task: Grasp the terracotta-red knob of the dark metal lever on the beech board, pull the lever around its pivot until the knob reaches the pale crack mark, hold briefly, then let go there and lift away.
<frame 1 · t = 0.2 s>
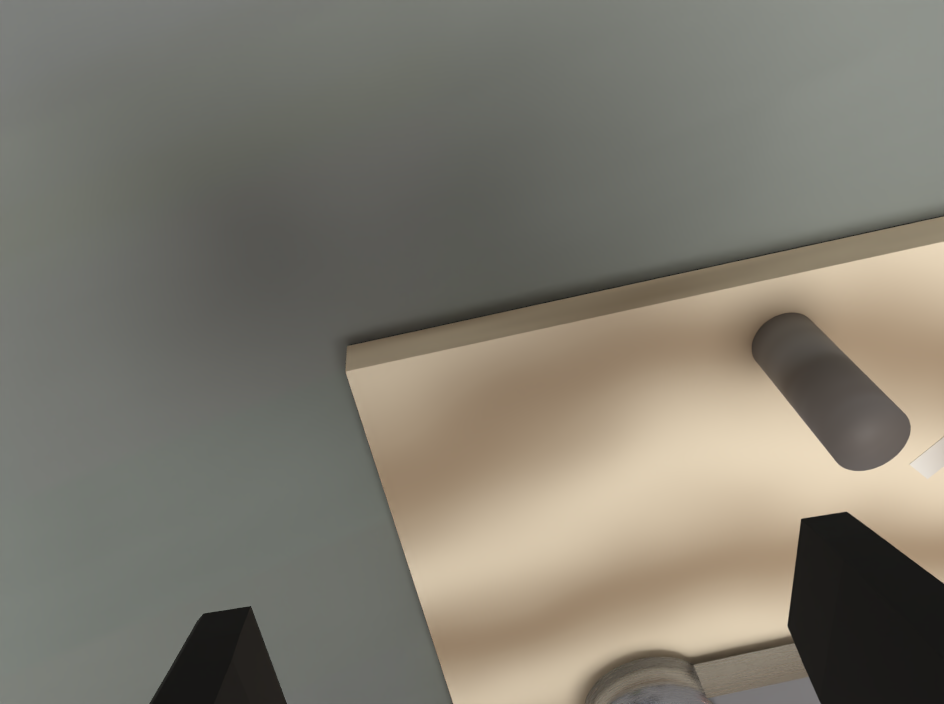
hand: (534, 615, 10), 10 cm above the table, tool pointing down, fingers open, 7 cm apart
board: (780, 543, 25), on the table
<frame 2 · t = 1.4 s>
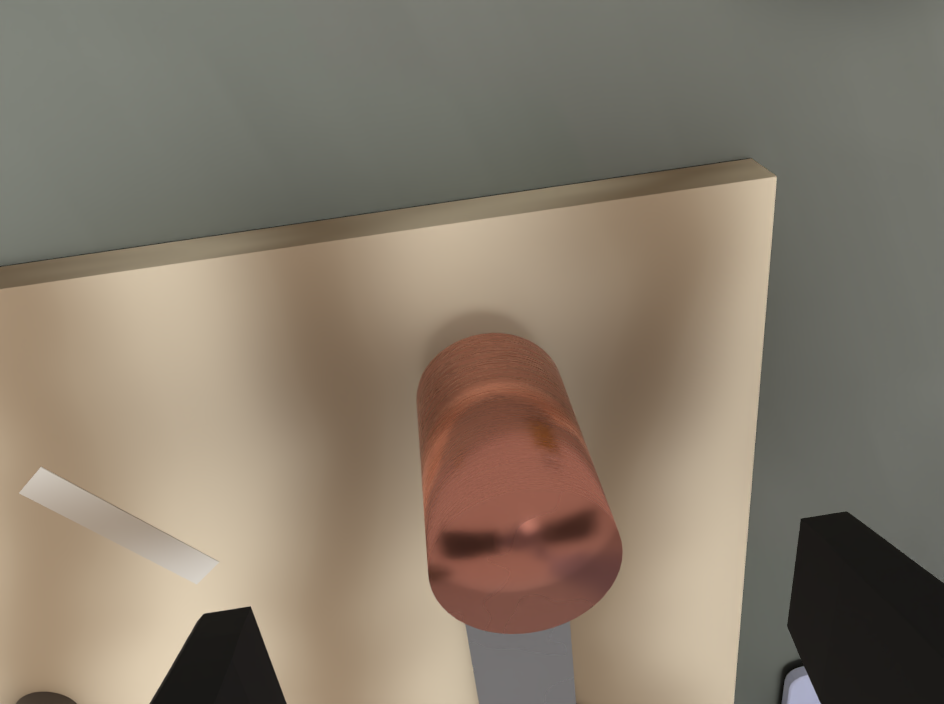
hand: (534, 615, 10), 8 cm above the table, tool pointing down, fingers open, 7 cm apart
lever: (530, 698, 17), point 4 cm above the table, hinge at 0.0°
board: (361, 610, 21), on the table
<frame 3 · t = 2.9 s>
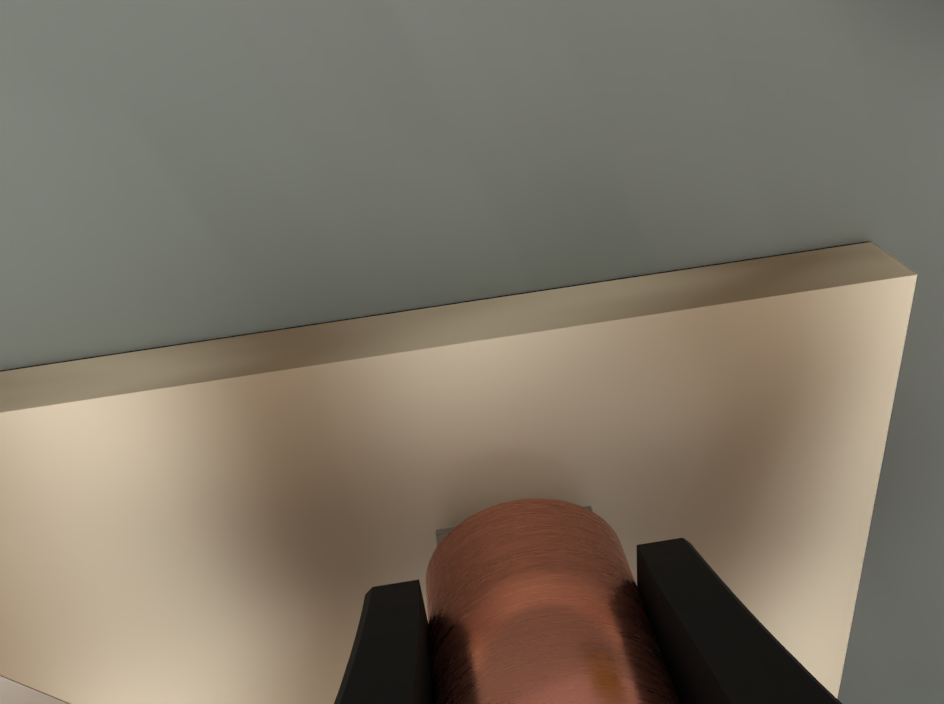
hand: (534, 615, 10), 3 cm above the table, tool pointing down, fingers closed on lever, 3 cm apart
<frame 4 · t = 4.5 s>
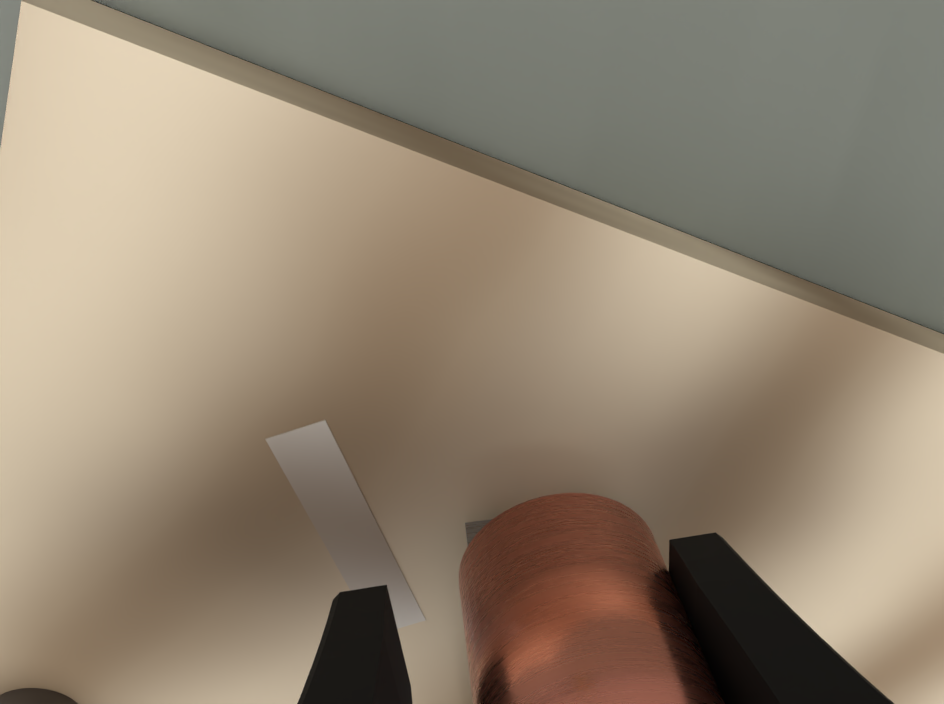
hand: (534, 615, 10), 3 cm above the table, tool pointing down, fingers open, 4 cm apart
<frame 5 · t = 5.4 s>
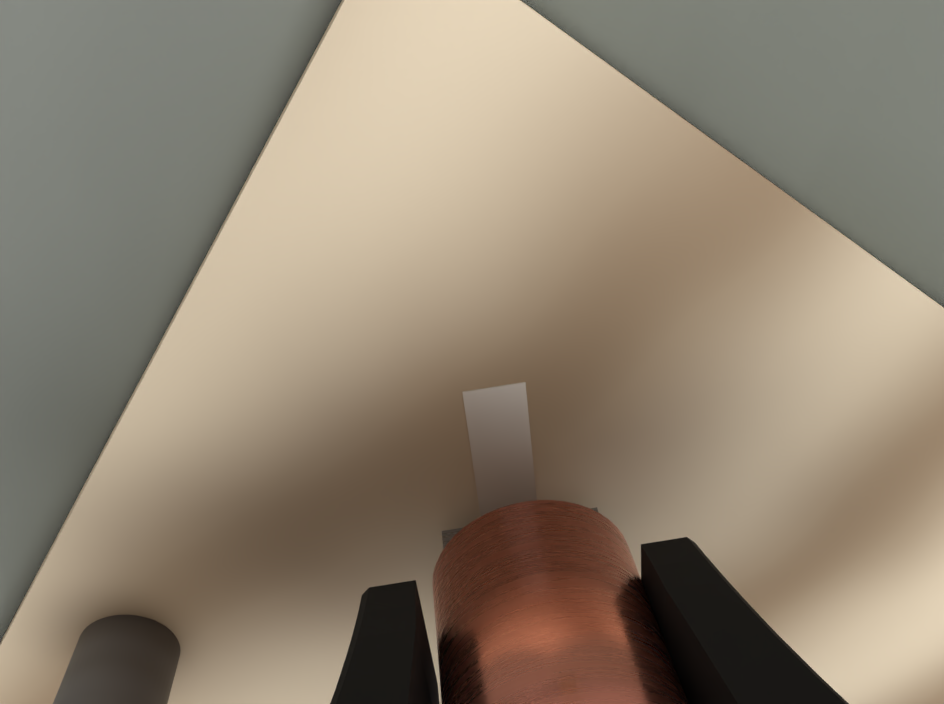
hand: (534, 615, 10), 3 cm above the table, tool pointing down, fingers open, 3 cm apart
board: (536, 703, 17), on the table
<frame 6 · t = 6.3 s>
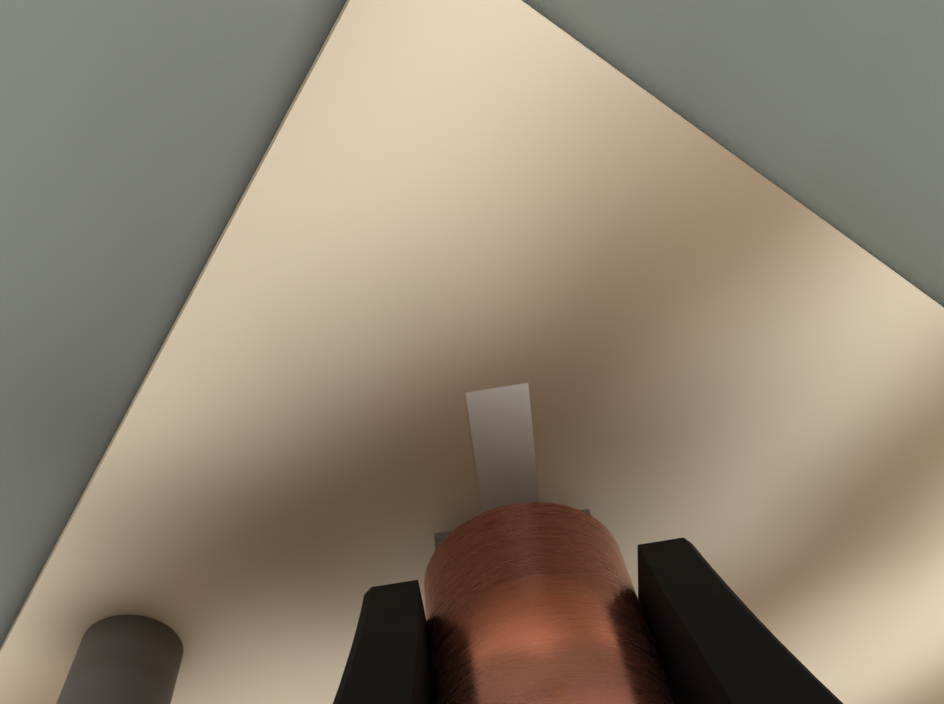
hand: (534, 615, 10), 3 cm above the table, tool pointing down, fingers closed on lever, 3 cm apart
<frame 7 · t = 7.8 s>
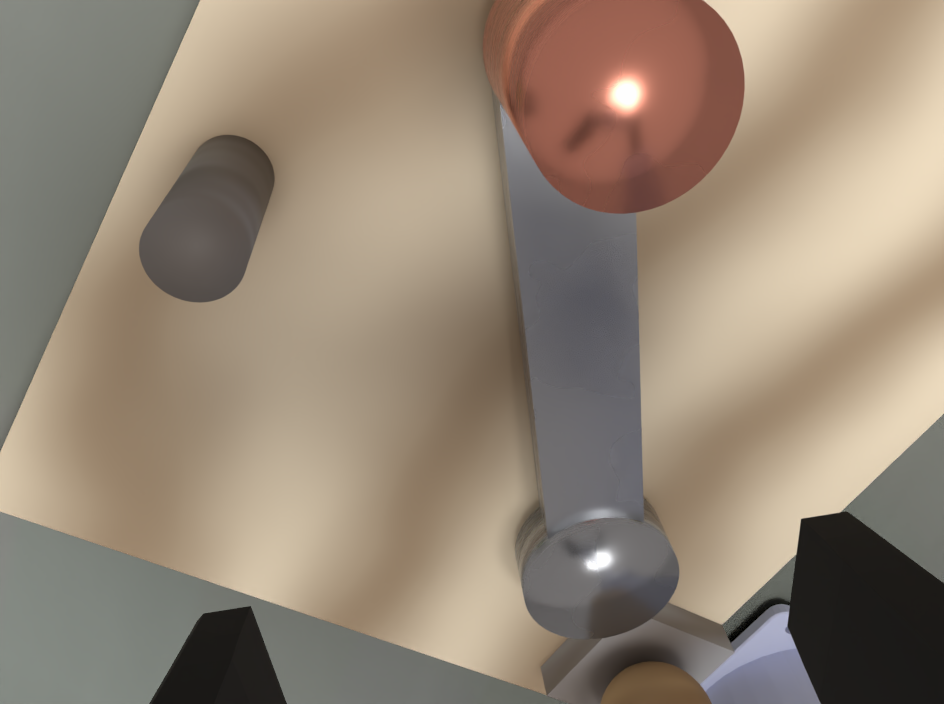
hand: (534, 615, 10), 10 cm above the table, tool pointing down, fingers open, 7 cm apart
lever: (603, 417, 16), point 4 cm above the table, hinge at 40.2°
board: (566, 308, 19), on the table
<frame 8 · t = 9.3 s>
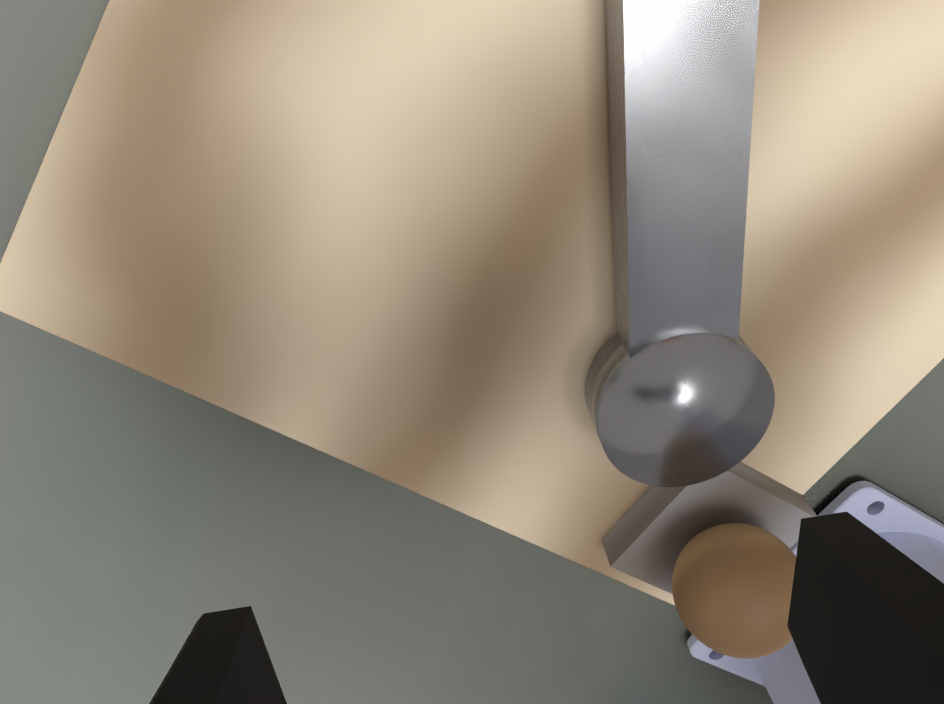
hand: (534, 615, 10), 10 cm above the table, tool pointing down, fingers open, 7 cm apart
lever: (720, 165, 14), point 4 cm above the table, hinge at 40.2°
board: (654, 96, 17), on the table
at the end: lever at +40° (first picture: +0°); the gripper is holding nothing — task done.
